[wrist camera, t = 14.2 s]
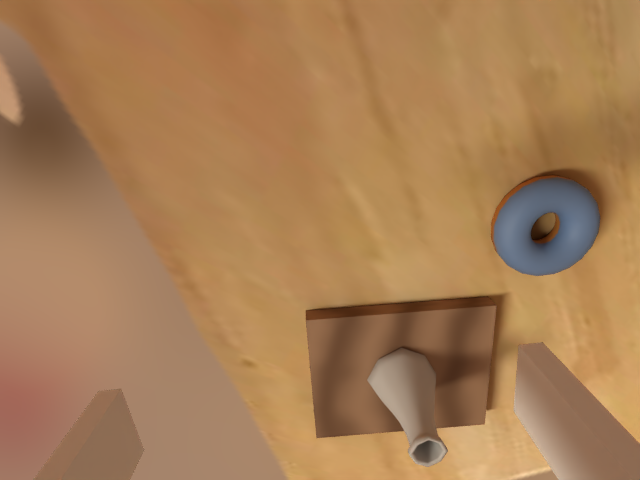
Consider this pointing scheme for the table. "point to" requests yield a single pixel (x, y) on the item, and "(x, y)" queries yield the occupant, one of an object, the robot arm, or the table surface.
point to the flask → (410, 401)
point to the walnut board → (386, 337)
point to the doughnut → (562, 242)
